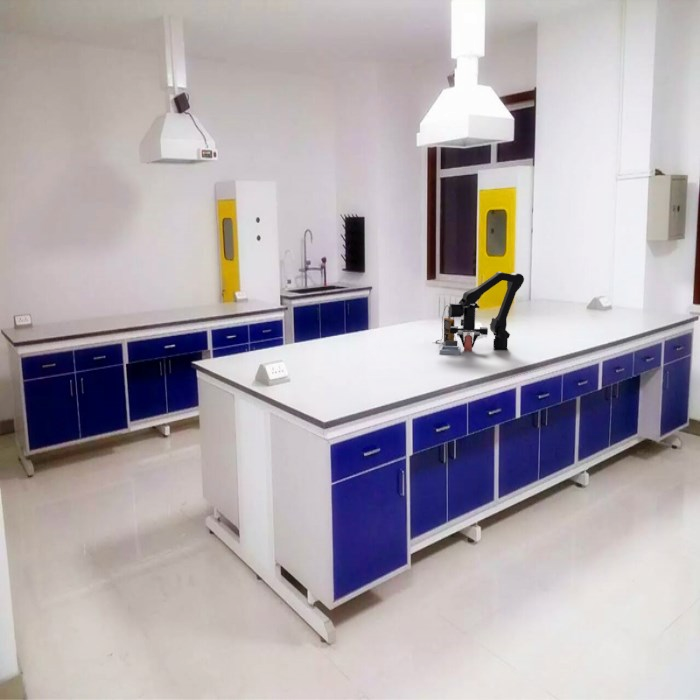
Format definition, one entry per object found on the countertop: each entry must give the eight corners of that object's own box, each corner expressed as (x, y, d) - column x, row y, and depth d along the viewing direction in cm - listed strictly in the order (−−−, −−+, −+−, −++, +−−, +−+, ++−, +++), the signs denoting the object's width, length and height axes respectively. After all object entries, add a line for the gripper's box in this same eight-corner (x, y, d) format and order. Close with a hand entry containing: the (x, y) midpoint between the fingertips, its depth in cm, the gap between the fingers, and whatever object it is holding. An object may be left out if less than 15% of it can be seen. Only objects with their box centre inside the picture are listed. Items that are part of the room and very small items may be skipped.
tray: (460, 350, 321) (460, 346, 321) (459, 354, 312) (460, 350, 311) (440, 349, 323) (440, 345, 323) (439, 354, 314) (439, 350, 313)
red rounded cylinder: (472, 349, 322) (472, 332, 320) (471, 351, 318) (472, 333, 316) (464, 349, 323) (464, 332, 321) (463, 351, 319) (464, 333, 317)
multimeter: (428, 341, 343) (428, 305, 338) (445, 340, 346) (445, 303, 341) (440, 347, 329) (440, 309, 325) (457, 345, 332) (458, 307, 328)
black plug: (457, 347, 326) (457, 347, 330) (457, 340, 326) (457, 340, 329) (442, 347, 328) (443, 346, 331) (442, 340, 328) (443, 340, 331)
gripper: (488, 314, 322) (486, 344, 326) (451, 313, 326) (450, 343, 329) (488, 318, 312) (486, 349, 315) (450, 317, 315) (449, 347, 319)
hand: (468, 347), depth 320 cm, fingers closed on red rounded cylinder, 4 cm apart
